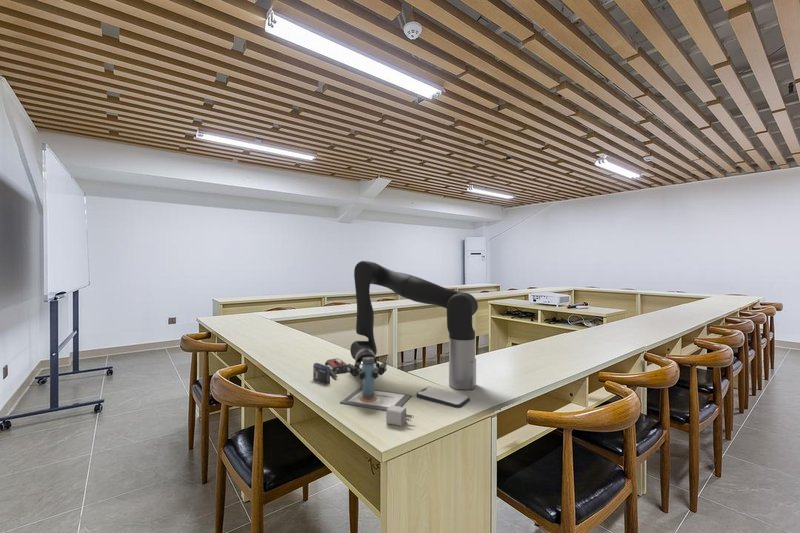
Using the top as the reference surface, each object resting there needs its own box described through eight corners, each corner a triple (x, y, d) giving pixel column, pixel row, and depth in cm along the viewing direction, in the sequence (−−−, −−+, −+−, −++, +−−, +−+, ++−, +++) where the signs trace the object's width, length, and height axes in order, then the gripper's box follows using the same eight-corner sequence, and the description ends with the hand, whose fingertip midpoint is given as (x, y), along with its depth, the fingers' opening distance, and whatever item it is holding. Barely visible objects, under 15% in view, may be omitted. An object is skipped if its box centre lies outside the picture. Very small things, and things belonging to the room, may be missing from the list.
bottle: (376, 394, 115) (376, 357, 114) (371, 398, 111) (371, 360, 111) (365, 392, 116) (365, 356, 116) (360, 397, 112) (360, 359, 112)
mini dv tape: (313, 379, 135) (313, 363, 135) (316, 378, 136) (316, 362, 136) (326, 384, 130) (326, 367, 129) (330, 383, 131) (329, 366, 131)
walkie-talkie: (320, 367, 152) (333, 380, 134) (320, 356, 152) (333, 369, 134) (340, 364, 156) (355, 377, 138) (340, 354, 156) (355, 366, 138)
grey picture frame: (411, 396, 118) (411, 394, 118) (396, 412, 105) (396, 410, 105) (360, 388, 125) (360, 386, 125) (340, 403, 112) (340, 401, 112)
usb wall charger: (392, 418, 101) (392, 404, 101) (415, 422, 98) (415, 408, 98) (386, 424, 97) (386, 409, 97) (409, 429, 94) (409, 414, 94)
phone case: (471, 401, 115) (428, 390, 124) (471, 396, 115) (428, 385, 124) (458, 410, 108) (414, 398, 117) (459, 405, 108) (414, 393, 117)
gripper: (346, 351, 126) (346, 365, 109) (385, 349, 129) (391, 363, 112) (346, 372, 127) (346, 389, 109) (385, 370, 129) (391, 387, 112)
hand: (369, 376), depth 111 cm, fingers closed on bottle, 3 cm apart
